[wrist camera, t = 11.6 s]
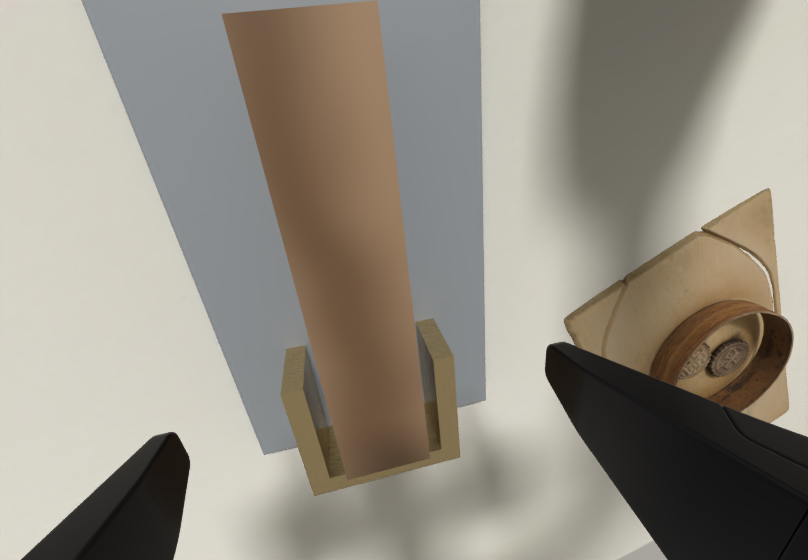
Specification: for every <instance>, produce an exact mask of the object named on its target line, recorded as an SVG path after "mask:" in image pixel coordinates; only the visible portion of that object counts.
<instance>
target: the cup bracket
mask: <svg viewBox="0 0 808 560" xmlns="http://www.w3.org/2000/svg"><path fill="white" fill-rule="evenodd" d="M416 329H417V338H418V347H419V356H420V365H421V374H422V383H423V391H424V400H425V403H424V410H425V418H426V427H427V436H428V445H429V453H430V459H426V460H422V461H418V462H415V463H411V464H407V465H403V466H399V467H396V468H392V469H388V470H384V471H381V472H377V473H373V474H369V475H365V476H362V477H358V478H354V479H350V480H347V477H346V473H345V470H344V466H343V462H342V459H341V455H340V451H339V447H338V444H337V440H336V436H335V433H334V429H333V425H332V426H328V425H327V421H326V417H325V414H324V410H323V407H322V403H321V399H320V396H319V392H318V389H317V385H316V381H315V378H314V374H313V370H312V367H311V363H310V360H309V356H308V352H307V349H306V345H303V346H298V347H293V348H288V349H286V354H285V362H284V370H283V378H282V385H281V393H280V396H281V399H282V402H283V405H284V408H285V410H286V413H287V416H288V419H289V422H290V425H291V428H292V431H293V434H294V437H295V440H296V443H297V446H298V449H299V452H300V455H301V458H302V461H303V464H304V467H305V470H306V473H307V476H308V478H309V481H310V484H311V487H312V490H313V493H314V496H316V495H320V494H324V493H327V492H331V491H335V490H339V489H342V488H346V487H350V486H354V485H357V484H361V483H365V482H369V481H372V480H376V479H380V478H384V477H387V476H391V475H395V474H399V473H402V472H406V471H410V470H414V469H417V468H421V467H425V466H429V465H432V464H436V463H440V462H444V461H447V460H451V459H455V458H459V457H460V449H459V433H458V416H457V400H456V383H455V367H454V355H453V353H452V352H451V350H450V348H449V346H448V344H447V342H446V341H445V339H444V337H443V335H442V333H441V331H440V330H439V328H438V326H437V324H436V322H435V320H434V319H433V318H431V319H427V320H422V321H417V322H416Z"/></svg>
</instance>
